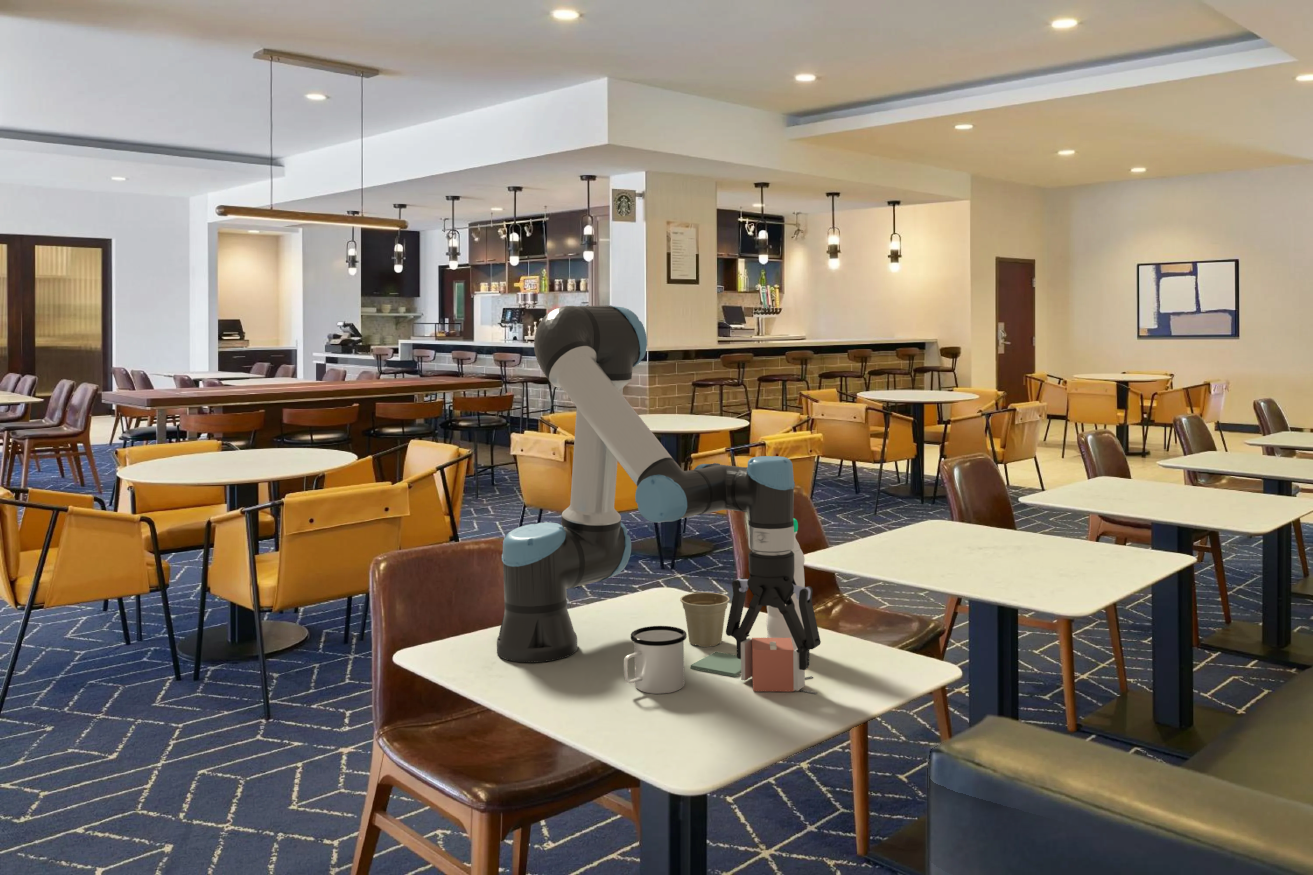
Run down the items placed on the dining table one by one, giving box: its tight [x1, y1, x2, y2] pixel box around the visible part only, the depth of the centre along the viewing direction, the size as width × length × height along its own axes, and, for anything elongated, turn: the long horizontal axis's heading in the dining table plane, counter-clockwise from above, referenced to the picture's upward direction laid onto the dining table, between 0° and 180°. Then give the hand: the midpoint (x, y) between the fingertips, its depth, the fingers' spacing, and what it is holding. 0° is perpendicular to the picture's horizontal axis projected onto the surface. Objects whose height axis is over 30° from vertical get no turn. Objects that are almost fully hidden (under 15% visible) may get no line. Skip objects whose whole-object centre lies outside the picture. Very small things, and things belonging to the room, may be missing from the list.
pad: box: [690, 651, 741, 678], centre depth 183 cm, size 9×9×1 cm
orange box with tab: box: [751, 637, 795, 693], centre depth 172 cm, size 7×7×8 cm
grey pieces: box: [798, 675, 818, 695], centre depth 172 cm, size 10×9×4 cm
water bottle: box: [766, 517, 806, 650], centre depth 188 cm, size 7×7×25 cm
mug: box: [623, 625, 688, 695], centre depth 172 cm, size 12×10×9 cm
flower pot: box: [680, 591, 730, 648], centre depth 196 cm, size 9×9×9 cm
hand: (772, 682), depth 172 cm, fingers closed on orange box with tab, 9 cm apart
